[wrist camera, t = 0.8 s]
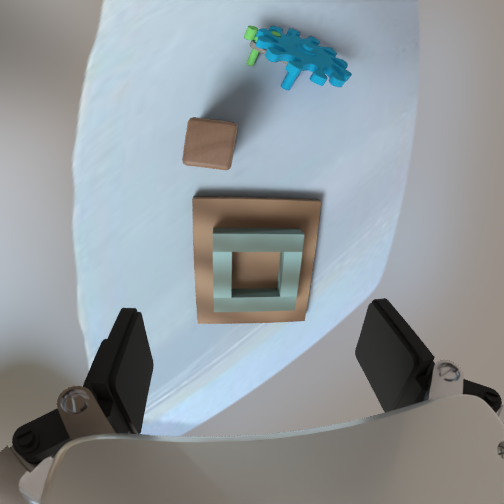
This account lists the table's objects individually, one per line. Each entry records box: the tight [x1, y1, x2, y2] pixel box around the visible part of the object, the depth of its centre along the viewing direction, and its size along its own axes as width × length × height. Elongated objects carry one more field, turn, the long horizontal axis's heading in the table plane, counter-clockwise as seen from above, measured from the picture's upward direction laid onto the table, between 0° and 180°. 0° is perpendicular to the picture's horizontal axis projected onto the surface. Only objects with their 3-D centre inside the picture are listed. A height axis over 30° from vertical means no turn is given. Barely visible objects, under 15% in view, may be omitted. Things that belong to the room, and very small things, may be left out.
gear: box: [244, 26, 352, 90], centre depth 24 cm, size 11×6×10 cm
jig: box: [192, 196, 321, 324], centre depth 33 cm, size 16×14×3 cm
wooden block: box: [182, 117, 238, 170], centre depth 25 cm, size 4×4×8 cm
